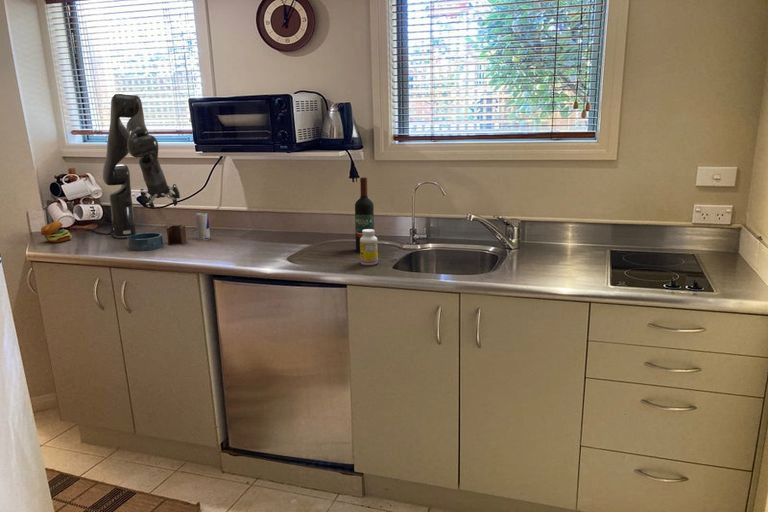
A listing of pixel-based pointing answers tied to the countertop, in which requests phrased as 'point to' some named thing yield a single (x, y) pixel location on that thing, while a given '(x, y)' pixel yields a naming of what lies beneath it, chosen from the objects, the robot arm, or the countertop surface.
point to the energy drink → (202, 226)
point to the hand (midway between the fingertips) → (164, 206)
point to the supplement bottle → (368, 248)
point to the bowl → (145, 241)
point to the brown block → (176, 234)
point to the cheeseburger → (55, 232)
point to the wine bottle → (363, 213)
